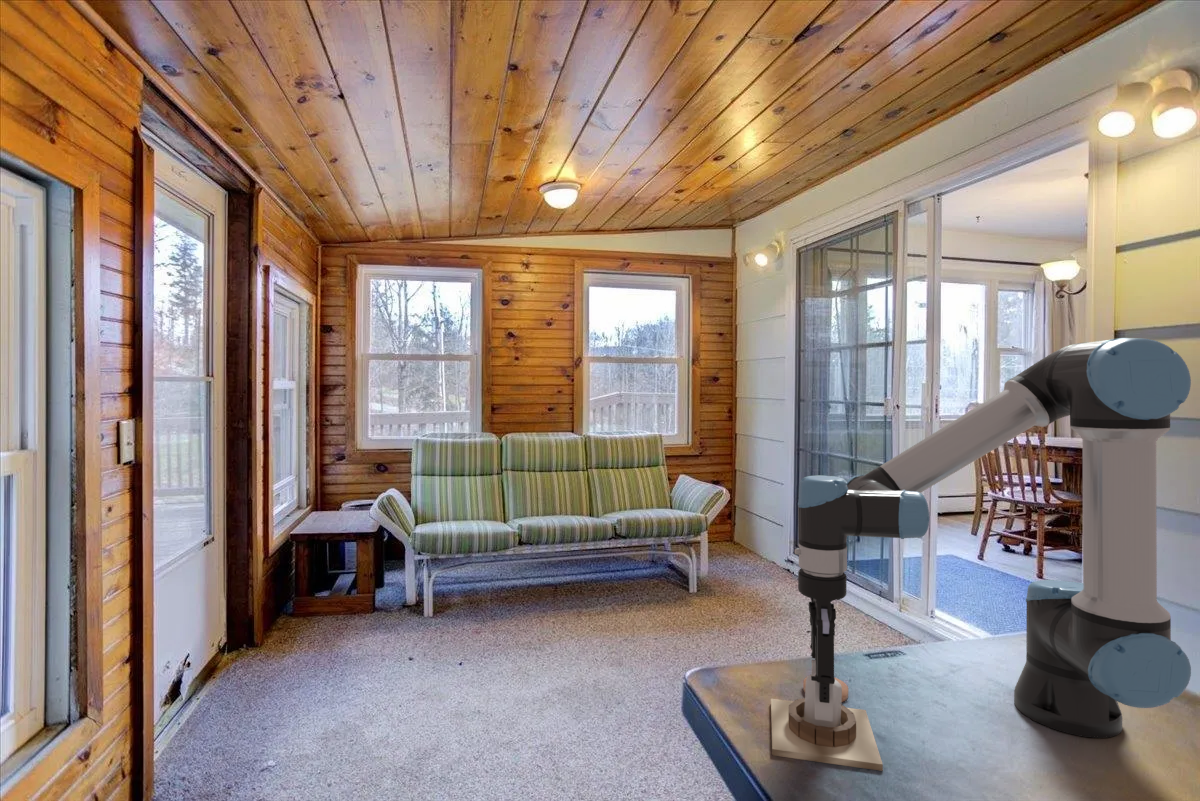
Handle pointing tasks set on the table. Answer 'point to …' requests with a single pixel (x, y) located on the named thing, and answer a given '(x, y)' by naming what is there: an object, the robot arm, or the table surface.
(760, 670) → the table surface
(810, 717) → the eye dropper bottle
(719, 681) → the table surface
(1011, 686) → the table surface
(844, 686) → the peach domed part
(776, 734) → the ring collar
